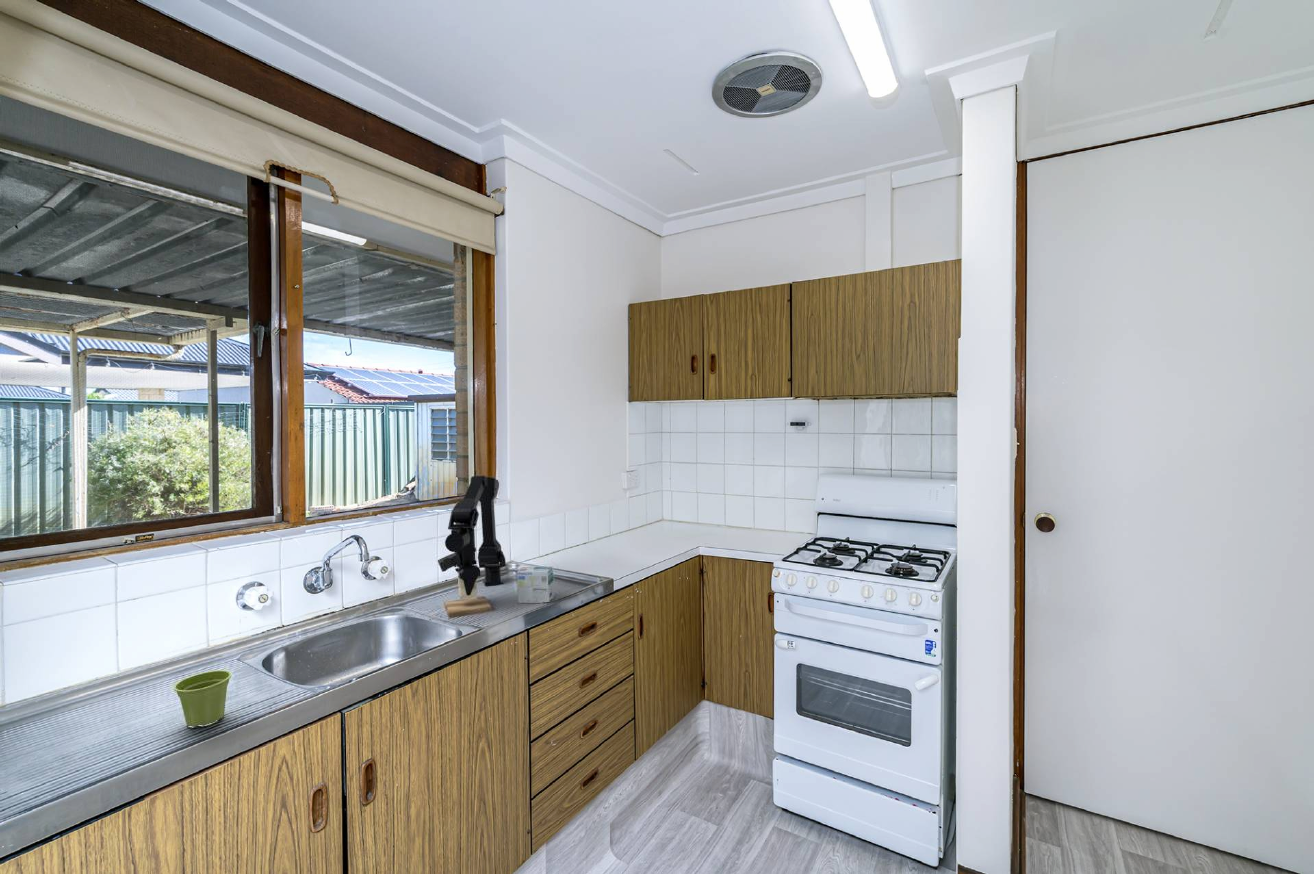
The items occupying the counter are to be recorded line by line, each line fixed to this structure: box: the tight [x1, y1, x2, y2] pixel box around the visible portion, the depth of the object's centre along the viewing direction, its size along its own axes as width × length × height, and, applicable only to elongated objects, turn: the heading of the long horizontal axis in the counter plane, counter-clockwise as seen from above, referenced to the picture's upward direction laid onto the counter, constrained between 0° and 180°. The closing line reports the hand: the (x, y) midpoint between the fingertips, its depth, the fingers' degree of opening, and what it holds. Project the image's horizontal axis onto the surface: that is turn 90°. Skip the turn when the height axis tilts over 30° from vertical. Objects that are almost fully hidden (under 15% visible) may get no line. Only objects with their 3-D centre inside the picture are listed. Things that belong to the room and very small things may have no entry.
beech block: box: [457, 576, 478, 601], centre depth 189 cm, size 5×5×7 cm
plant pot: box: [173, 669, 232, 726], centre depth 120 cm, size 9×9×9 cm
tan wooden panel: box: [443, 595, 493, 619], centre depth 189 cm, size 13×13×2 cm
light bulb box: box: [516, 565, 555, 604], centre depth 196 cm, size 11×7×11 cm, turn 87°
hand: (467, 593), depth 189 cm, fingers closed on beech block, 5 cm apart
